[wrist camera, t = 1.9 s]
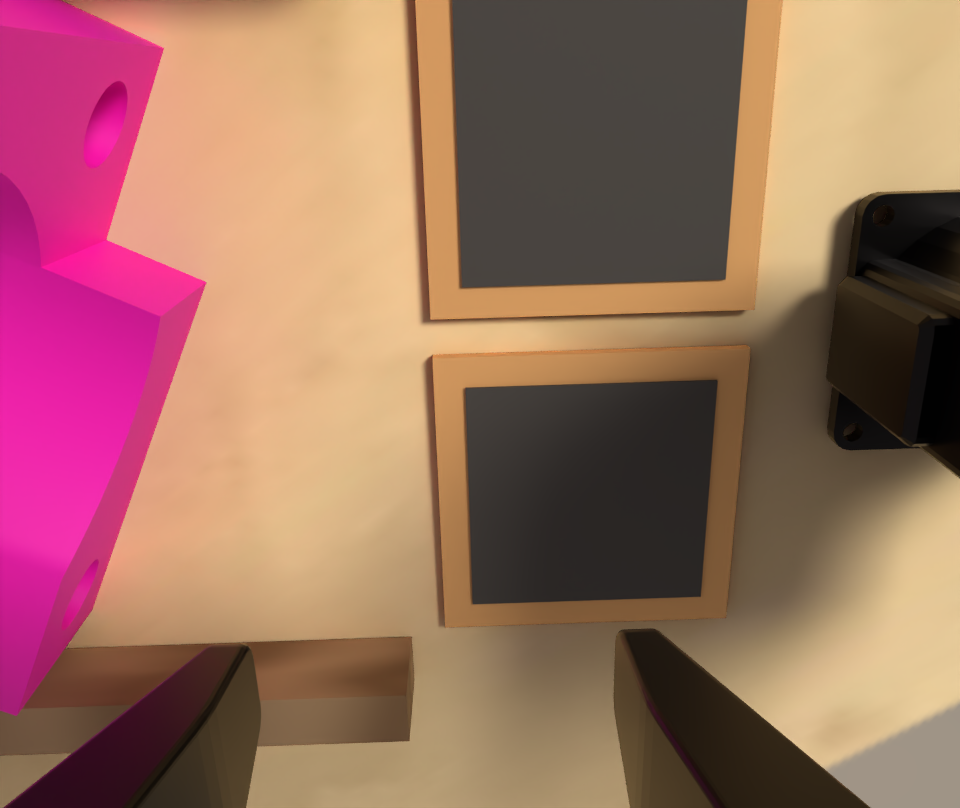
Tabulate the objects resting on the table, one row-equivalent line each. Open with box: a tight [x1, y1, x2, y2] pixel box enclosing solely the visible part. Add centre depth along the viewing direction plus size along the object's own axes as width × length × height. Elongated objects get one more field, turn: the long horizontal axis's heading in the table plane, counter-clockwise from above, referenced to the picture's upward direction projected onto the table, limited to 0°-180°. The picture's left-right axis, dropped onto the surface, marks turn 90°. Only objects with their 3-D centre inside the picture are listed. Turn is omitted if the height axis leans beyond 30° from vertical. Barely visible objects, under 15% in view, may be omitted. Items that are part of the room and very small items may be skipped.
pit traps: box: [415, 0, 783, 627], centre depth 21 cm, size 8×17×1 cm, turn 1°
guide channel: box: [0, 637, 414, 755], centre depth 20 cm, size 13×21×2 cm, turn 1°
